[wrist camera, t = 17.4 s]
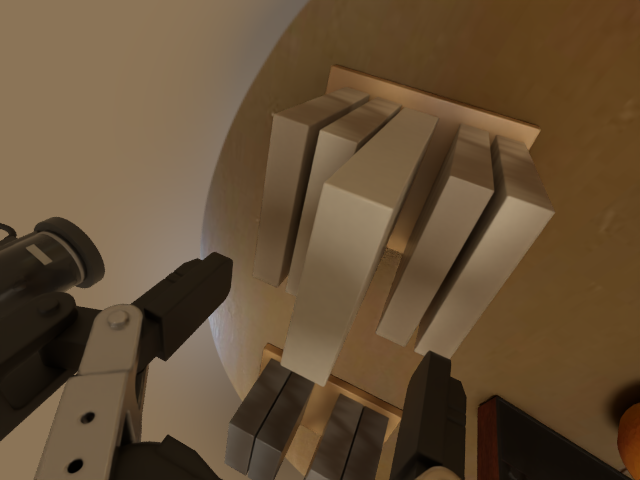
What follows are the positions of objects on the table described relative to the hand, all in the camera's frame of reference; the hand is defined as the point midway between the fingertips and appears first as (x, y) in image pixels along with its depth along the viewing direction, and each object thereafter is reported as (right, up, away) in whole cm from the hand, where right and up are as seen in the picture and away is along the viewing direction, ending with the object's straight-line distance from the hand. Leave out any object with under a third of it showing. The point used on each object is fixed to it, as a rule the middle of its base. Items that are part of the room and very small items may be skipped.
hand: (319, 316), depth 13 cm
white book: (+6, +7, +13) cm, 16 cm away
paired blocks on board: (0, -18, +32) cm, 37 cm away
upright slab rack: (+6, +8, +13) cm, 17 cm away
